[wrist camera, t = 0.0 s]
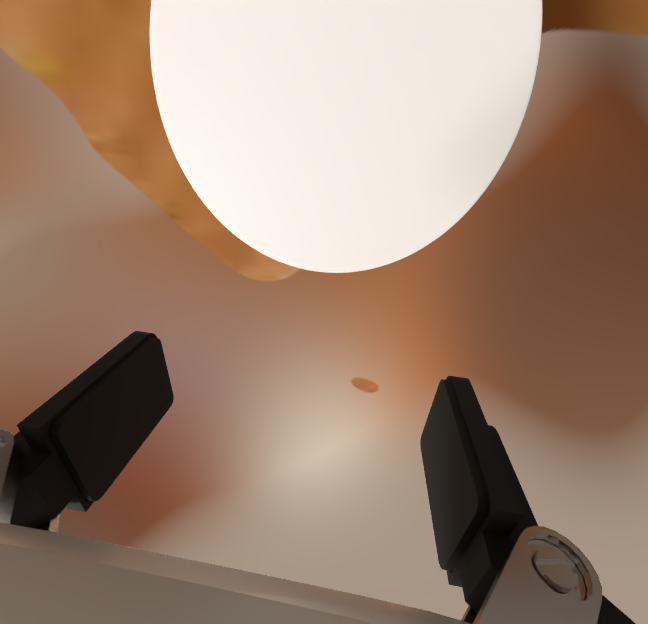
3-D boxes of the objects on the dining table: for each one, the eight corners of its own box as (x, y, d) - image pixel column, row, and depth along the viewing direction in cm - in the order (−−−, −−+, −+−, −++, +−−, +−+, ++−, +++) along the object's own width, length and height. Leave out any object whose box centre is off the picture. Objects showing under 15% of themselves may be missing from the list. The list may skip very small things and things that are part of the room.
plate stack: (216, -116, 26) (121, -273, 16) (543, -56, 25) (654, -183, 15) (216, 214, 40) (165, 238, 30) (427, 260, 39) (445, 300, 29)
